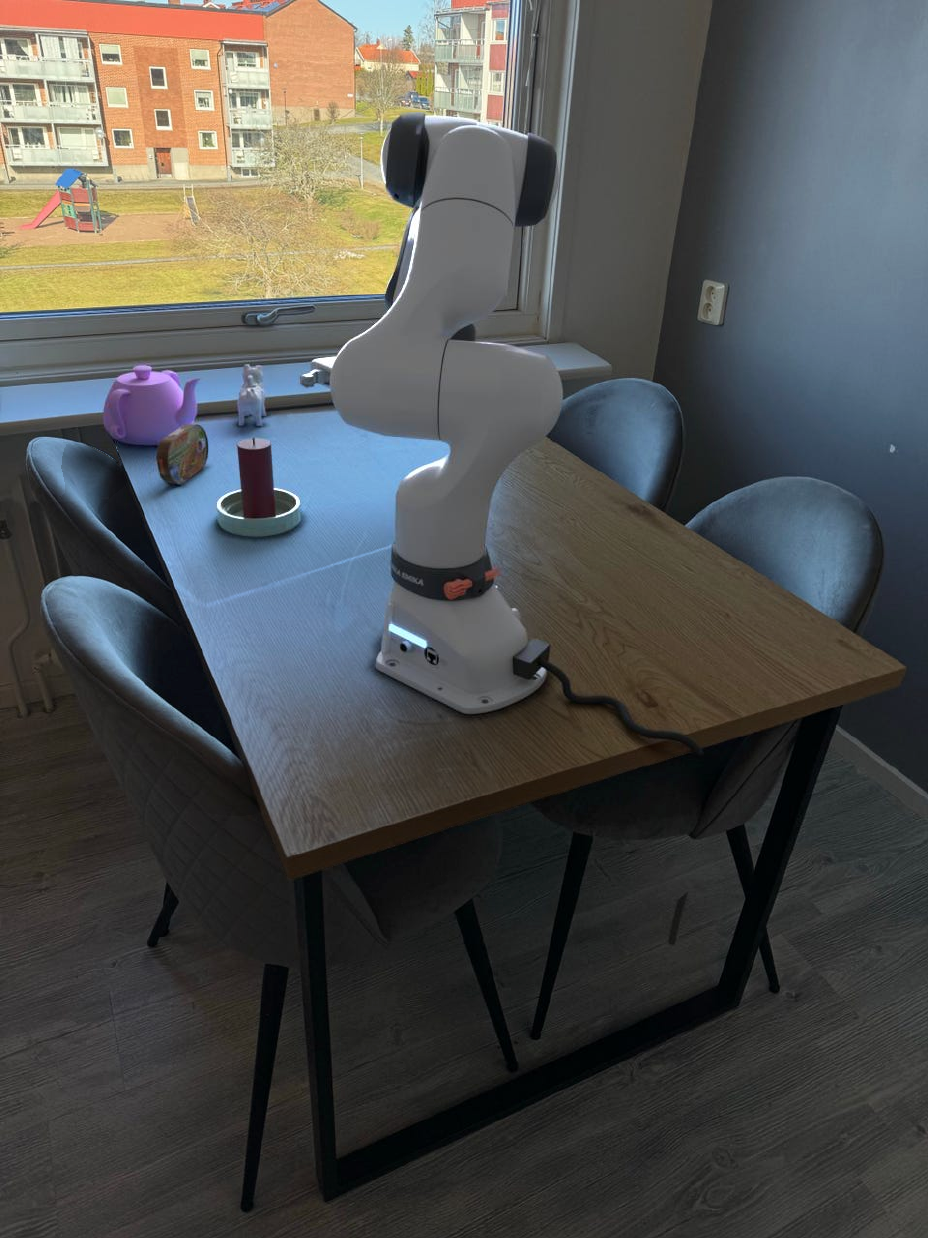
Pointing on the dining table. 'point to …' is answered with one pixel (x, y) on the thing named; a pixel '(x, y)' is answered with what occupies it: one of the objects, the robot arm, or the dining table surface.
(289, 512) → the bowl
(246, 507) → the candle
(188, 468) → the tin
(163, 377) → the teapot
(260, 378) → the dog figurine
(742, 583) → the dining table surface
